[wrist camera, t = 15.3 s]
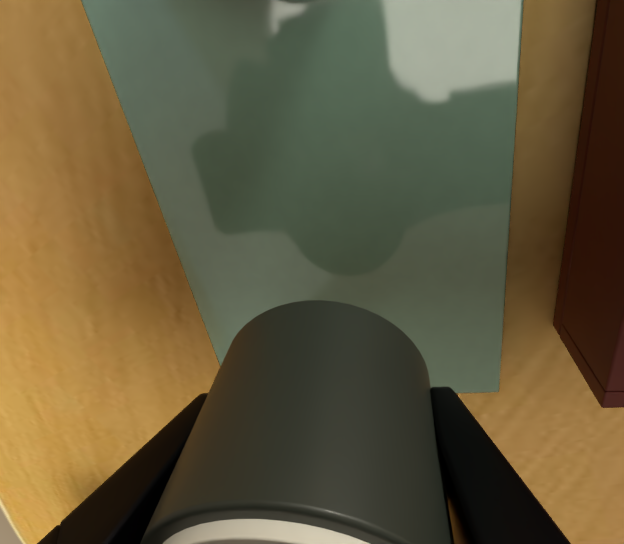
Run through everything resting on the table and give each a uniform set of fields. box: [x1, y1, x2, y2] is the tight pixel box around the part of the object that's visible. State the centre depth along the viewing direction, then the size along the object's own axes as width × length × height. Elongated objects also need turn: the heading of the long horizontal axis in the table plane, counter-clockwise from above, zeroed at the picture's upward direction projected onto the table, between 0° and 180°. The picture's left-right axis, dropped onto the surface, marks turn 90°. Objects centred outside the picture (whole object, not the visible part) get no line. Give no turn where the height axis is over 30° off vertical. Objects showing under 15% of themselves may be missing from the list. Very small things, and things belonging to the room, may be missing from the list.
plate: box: [81, 0, 524, 393], centre depth 11 cm, size 20×10×1 cm, turn 10°
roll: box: [140, 300, 454, 544], centre depth 7 cm, size 5×5×5 cm
